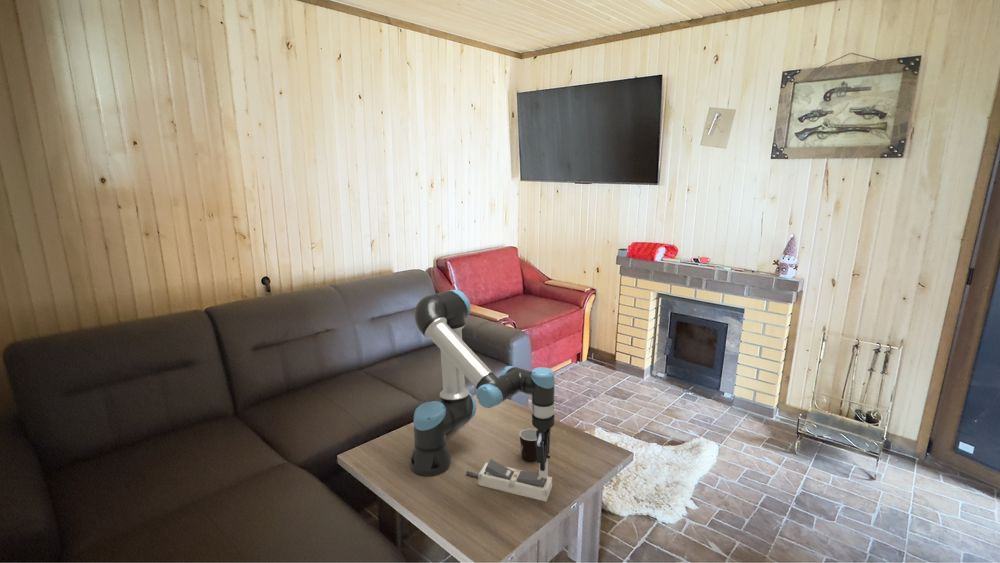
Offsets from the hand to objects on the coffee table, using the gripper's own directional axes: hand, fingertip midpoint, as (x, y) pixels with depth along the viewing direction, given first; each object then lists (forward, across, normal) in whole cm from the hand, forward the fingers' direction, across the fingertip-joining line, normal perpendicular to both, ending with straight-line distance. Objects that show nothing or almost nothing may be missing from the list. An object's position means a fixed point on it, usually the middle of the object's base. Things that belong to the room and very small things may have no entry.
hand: (543, 476), depth 162 cm
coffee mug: (+6, +20, +10) cm, 23 cm away
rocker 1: (+1, 0, +16) cm, 16 cm away
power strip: (+6, 0, +13) cm, 15 cm away
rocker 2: (+2, 0, +4) cm, 5 cm away
